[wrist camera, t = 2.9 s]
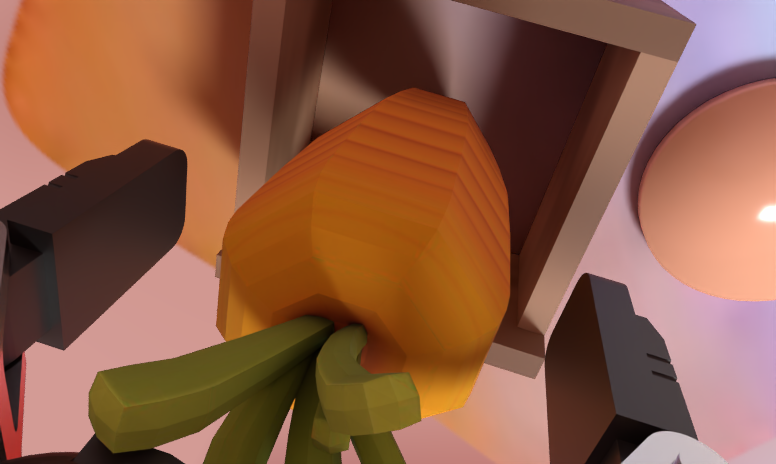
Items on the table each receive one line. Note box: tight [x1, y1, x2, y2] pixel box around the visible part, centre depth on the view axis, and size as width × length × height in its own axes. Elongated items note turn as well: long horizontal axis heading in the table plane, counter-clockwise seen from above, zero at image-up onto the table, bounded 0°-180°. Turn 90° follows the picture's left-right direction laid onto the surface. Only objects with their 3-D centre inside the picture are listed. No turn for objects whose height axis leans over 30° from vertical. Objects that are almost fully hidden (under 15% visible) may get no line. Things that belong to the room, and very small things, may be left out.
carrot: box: [88, 87, 510, 464], centre depth 12 cm, size 5×5×15 cm
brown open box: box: [215, 0, 696, 379], centre depth 16 cm, size 10×10×5 cm
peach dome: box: [638, 78, 776, 301], centre depth 17 cm, size 7×7×1 cm
